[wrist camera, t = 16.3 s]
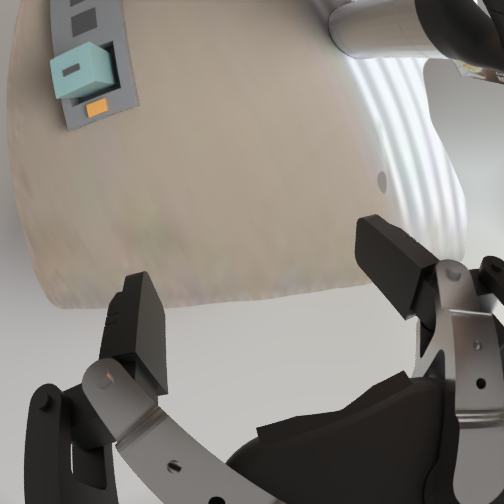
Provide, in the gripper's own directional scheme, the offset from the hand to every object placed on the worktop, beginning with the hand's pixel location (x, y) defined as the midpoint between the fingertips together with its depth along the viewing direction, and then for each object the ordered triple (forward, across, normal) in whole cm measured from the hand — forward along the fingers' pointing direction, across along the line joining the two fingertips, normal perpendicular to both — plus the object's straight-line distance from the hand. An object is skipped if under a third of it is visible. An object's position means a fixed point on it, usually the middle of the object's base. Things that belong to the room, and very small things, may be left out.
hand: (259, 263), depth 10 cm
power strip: (+28, +11, -18) cm, 35 cm away
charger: (+28, +11, -13) cm, 33 cm away
